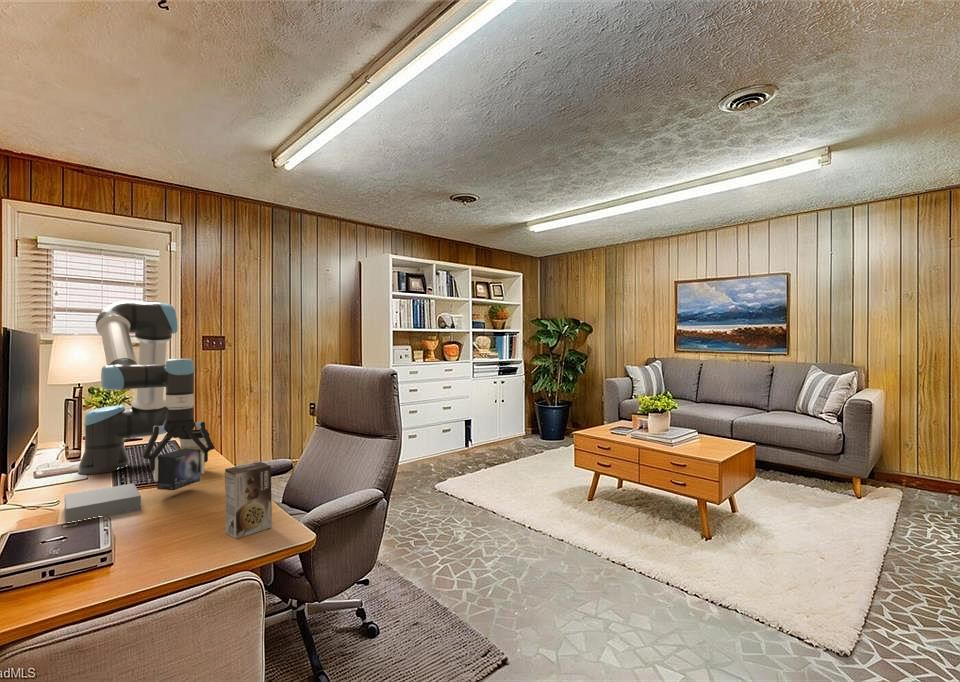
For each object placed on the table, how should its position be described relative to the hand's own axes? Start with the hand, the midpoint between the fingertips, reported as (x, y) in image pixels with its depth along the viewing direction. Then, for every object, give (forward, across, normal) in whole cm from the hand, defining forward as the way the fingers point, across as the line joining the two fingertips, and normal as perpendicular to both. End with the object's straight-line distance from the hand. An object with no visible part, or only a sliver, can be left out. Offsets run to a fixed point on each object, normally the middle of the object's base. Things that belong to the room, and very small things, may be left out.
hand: (179, 476), depth 147 cm
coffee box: (+5, +7, -46) cm, 47 cm away
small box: (+3, 0, 0) cm, 3 cm away
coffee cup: (+6, +9, +26) cm, 28 cm away
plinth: (+5, -19, -1) cm, 20 cm away
